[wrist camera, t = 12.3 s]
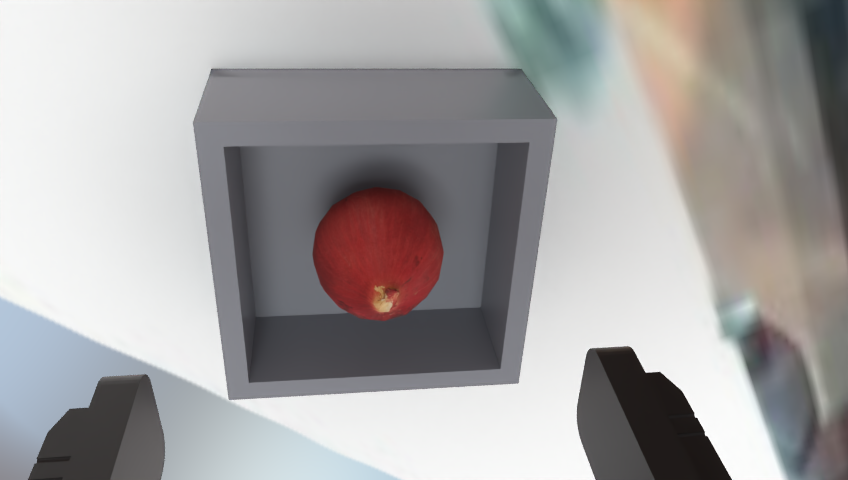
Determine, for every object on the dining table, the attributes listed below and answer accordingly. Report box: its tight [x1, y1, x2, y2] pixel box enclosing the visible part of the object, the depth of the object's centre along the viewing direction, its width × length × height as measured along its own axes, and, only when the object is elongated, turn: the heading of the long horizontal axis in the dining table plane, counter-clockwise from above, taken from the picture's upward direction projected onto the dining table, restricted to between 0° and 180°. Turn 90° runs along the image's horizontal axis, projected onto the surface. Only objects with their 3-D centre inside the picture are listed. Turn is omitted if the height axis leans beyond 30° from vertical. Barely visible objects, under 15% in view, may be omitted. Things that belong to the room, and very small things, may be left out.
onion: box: [312, 187, 444, 321], centre depth 33 cm, size 6×6×8 cm
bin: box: [193, 69, 557, 400], centre depth 35 cm, size 14×14×6 cm
